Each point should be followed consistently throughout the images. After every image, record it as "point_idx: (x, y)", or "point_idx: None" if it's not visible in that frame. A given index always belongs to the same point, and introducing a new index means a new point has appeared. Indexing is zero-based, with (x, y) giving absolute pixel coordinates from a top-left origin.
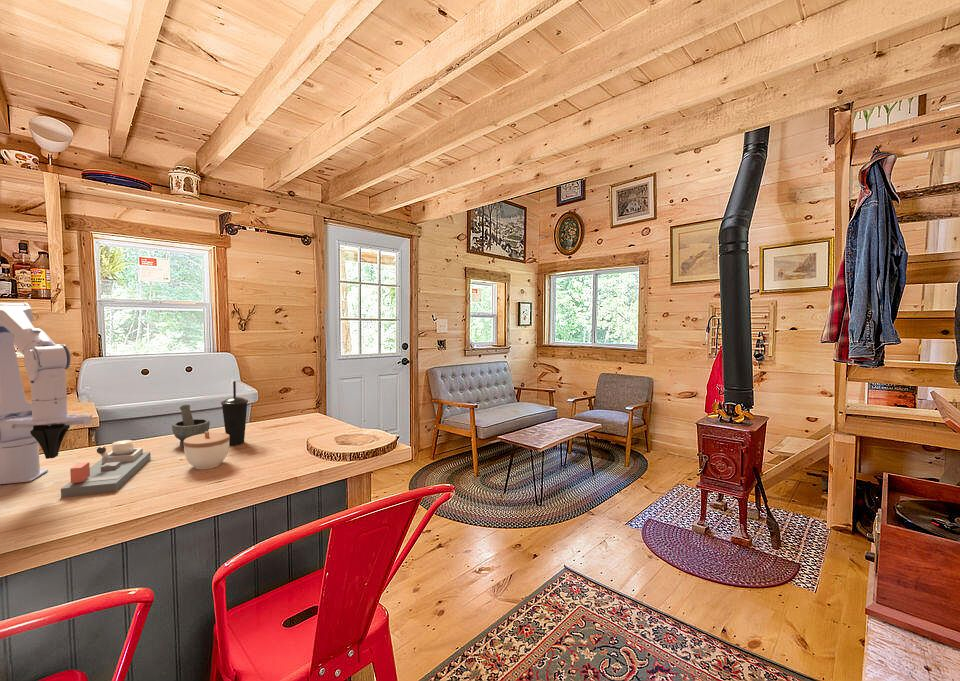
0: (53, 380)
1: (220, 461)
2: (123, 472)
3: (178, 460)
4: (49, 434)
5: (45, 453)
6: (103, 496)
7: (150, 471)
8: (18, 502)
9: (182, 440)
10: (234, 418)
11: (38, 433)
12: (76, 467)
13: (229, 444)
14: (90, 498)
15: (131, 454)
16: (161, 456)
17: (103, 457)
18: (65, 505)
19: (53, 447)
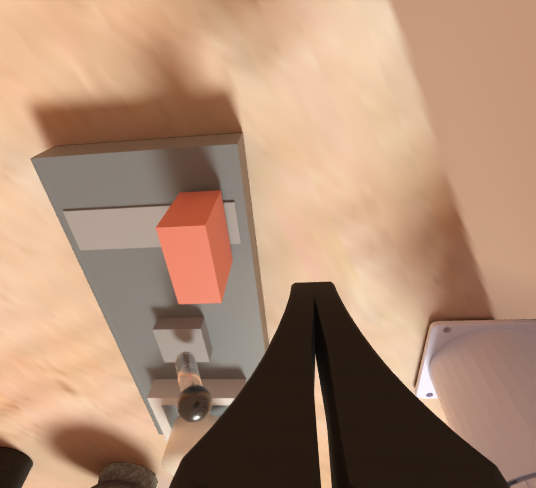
0: None
1: None
2: (103, 281)
3: (70, 384)
4: (281, 440)
5: (332, 300)
6: (66, 97)
7: (87, 320)
8: (391, 117)
9: (131, 486)
10: None
11: (404, 467)
12: (184, 236)
13: (12, 452)
14: (106, 85)
15: (161, 406)
16: (147, 420)
17: (191, 368)
18: (160, 11)
19: (278, 330)
